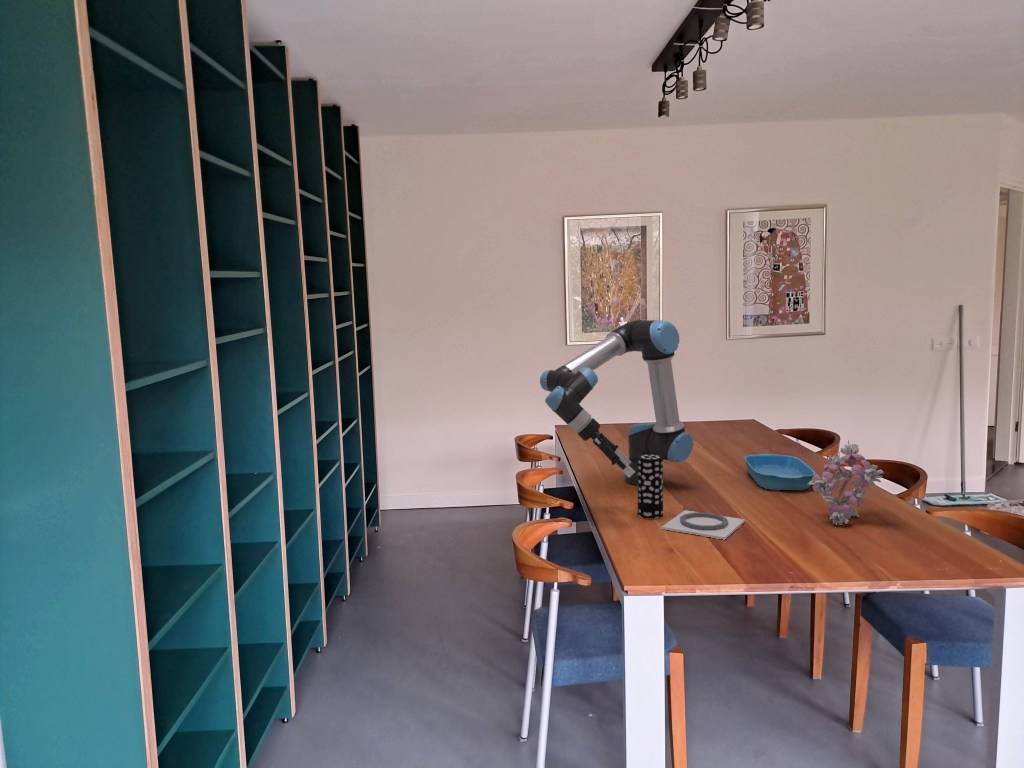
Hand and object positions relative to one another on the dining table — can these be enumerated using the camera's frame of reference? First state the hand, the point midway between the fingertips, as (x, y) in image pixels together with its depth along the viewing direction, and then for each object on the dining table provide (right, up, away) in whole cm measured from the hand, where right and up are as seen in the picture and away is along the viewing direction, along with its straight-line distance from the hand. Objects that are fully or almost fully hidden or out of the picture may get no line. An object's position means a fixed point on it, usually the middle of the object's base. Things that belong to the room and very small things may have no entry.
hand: (630, 469), depth 240 cm
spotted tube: (+7, -16, +2) cm, 17 cm away
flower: (+67, -16, -8) cm, 69 cm away
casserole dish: (+64, -10, +42) cm, 77 cm away
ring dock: (+22, -17, -10) cm, 29 cm away
